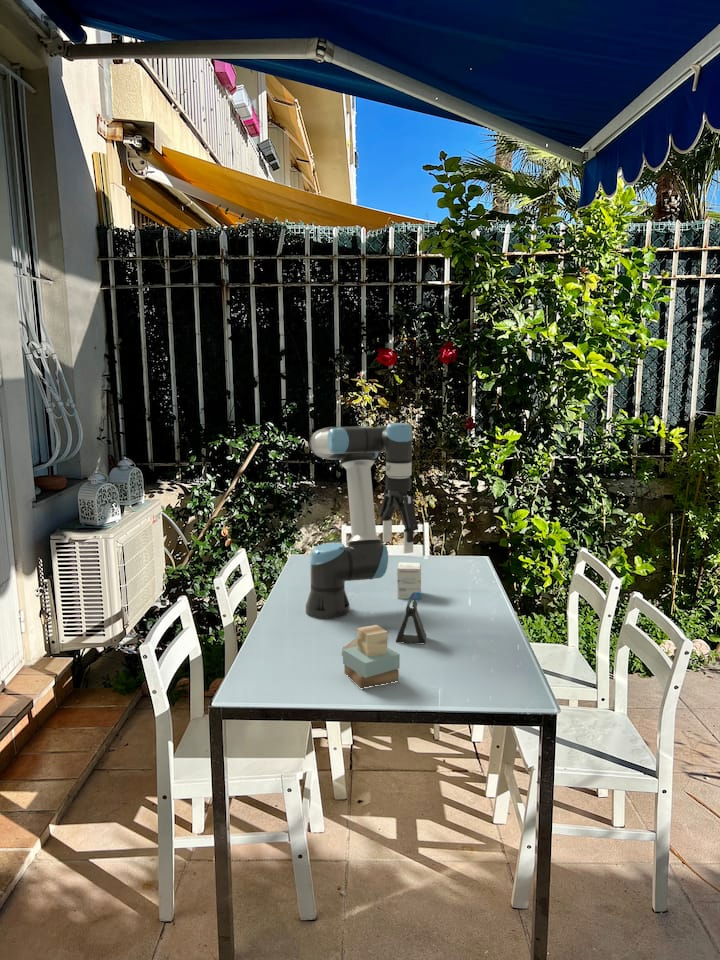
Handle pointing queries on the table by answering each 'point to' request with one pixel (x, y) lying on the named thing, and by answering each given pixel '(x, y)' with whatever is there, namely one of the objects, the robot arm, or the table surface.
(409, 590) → the ink box
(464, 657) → the table surface
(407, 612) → the phone stand
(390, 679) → the tower base
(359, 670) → the tower top
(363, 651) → the oak block
